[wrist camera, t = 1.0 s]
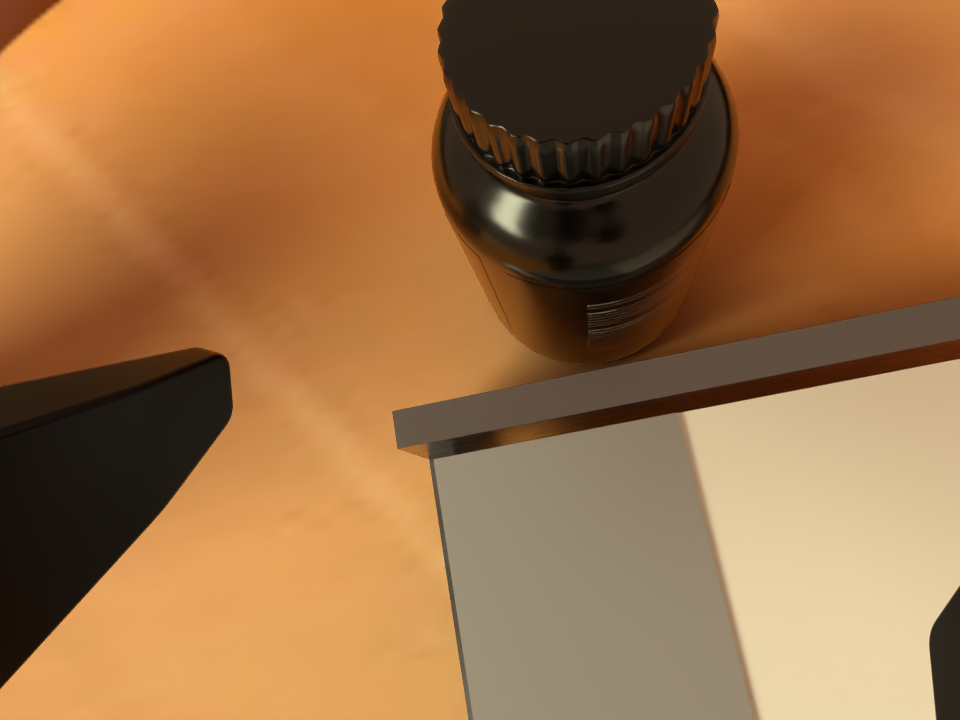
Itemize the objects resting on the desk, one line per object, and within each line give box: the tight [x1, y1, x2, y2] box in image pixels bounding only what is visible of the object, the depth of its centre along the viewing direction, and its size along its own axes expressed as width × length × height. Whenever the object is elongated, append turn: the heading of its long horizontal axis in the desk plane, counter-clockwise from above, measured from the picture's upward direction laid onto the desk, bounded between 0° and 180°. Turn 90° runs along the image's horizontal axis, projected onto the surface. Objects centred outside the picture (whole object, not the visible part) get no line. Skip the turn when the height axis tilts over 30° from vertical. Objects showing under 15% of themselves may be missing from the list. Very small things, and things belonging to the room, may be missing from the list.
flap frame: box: [392, 297, 960, 720], centre depth 17 cm, size 18×15×5 cm
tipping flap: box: [433, 359, 960, 720], centre depth 15 cm, size 17×12×3 cm
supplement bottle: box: [432, 0, 739, 364], centre depth 17 cm, size 7×7×12 cm
